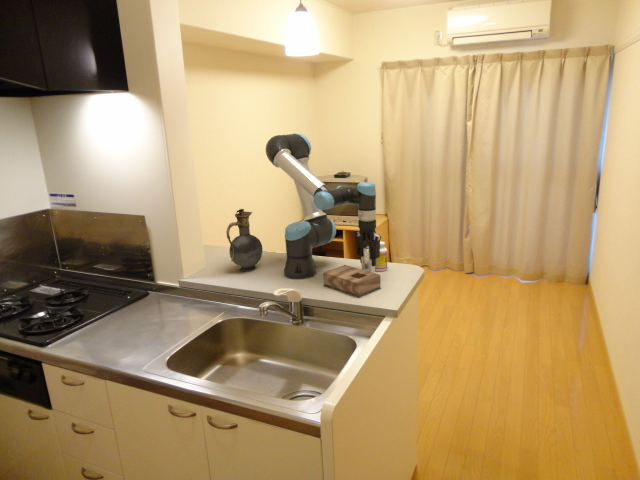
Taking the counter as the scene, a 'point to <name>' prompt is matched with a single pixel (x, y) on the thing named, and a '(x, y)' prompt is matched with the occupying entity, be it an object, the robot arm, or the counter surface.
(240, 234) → the pitcher
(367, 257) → the pin
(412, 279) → the counter surface
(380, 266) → the supplement bottle
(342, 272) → the socket block
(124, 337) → the counter surface
